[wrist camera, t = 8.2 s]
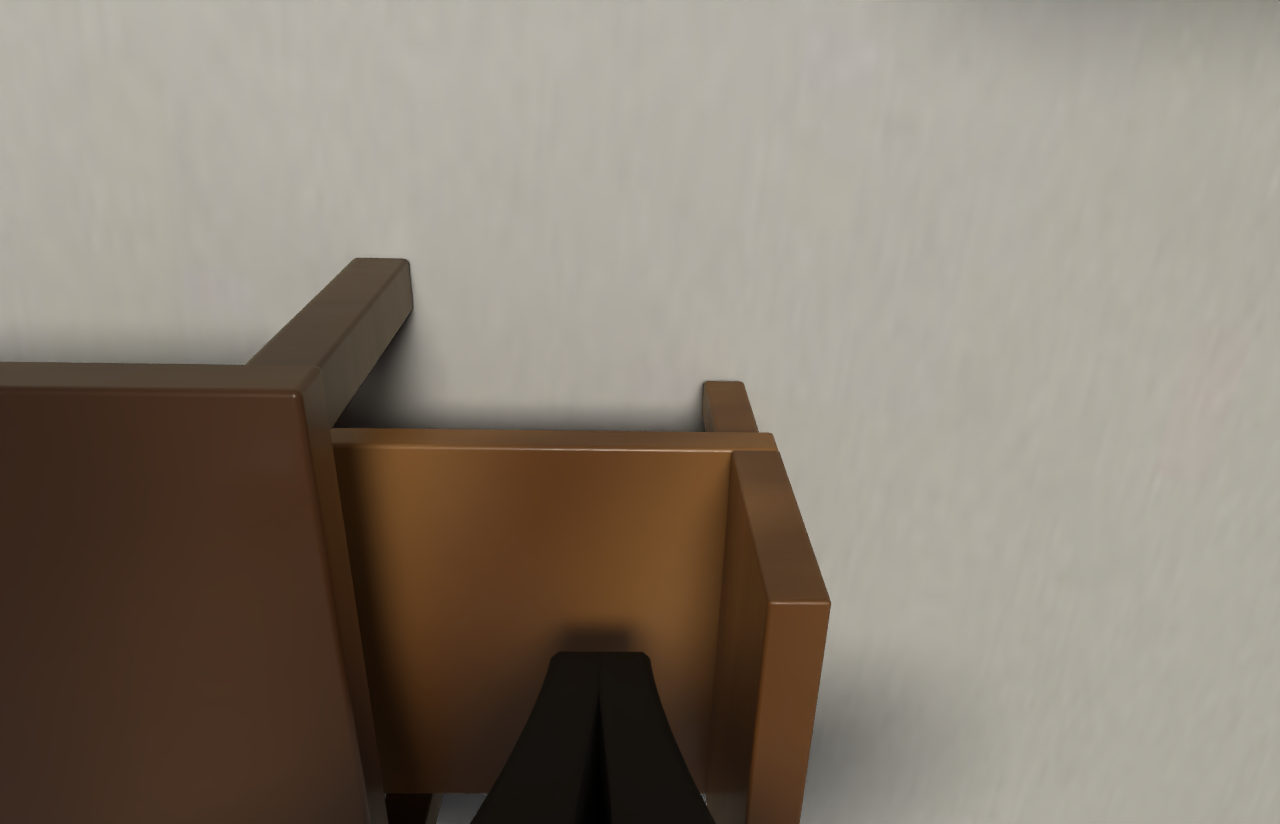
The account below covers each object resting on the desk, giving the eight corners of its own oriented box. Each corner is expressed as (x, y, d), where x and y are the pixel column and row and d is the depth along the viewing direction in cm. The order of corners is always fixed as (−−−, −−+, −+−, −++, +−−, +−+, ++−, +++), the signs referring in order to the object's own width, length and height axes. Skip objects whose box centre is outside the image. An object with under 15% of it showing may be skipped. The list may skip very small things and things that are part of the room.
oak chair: (753, 372, 15) (833, 602, 9) (727, 682, 18) (775, 999, 12) (288, 365, 15) (78, 596, 9) (340, 680, 18) (206, 1002, 12)
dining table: (414, 251, 14) (299, 392, 9) (460, 747, 19) (400, 1018, 14) (-148, 242, 14) (-584, 380, 9) (41, 745, 19) (-174, 1022, 14)
